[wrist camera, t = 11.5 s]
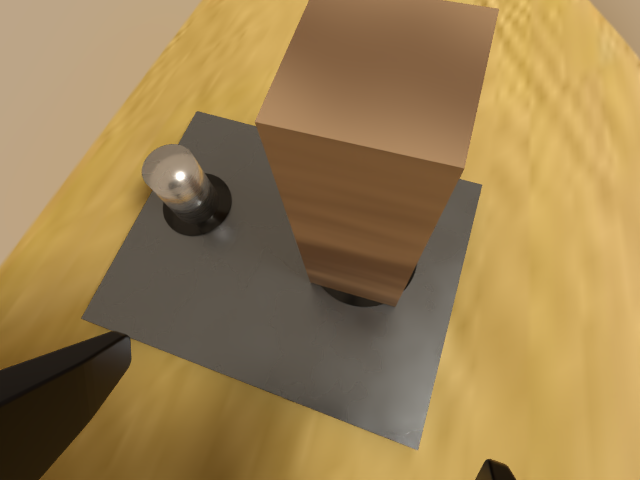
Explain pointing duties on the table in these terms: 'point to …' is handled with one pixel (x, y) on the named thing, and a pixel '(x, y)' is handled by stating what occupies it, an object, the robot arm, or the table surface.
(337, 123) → the post
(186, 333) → the bolt plate
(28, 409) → the robot arm
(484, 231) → the table surface
